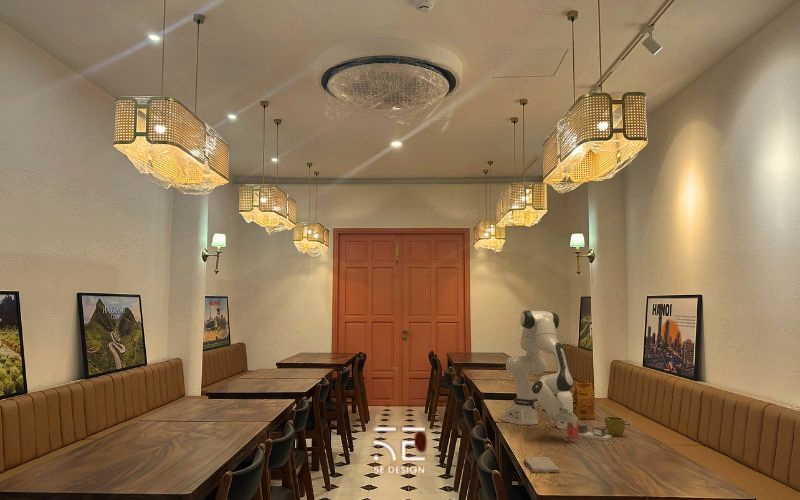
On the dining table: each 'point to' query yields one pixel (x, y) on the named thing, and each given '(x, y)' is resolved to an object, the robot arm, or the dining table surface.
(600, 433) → the grey cubes on base
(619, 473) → the dining table surface
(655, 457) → the dining table surface
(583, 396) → the coffee package
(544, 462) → the washcloth
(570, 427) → the tall red square pillar
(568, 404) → the alcohol
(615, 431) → the flower pot
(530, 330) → the robot arm
